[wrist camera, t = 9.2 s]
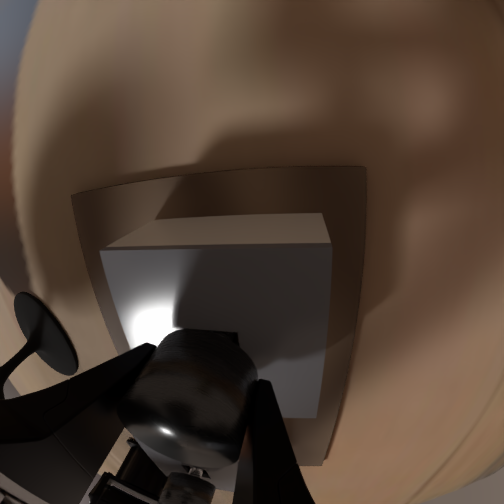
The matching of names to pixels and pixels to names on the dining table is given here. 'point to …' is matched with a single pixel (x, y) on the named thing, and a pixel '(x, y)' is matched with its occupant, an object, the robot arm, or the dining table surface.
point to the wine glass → (40, 339)
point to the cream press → (233, 291)
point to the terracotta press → (216, 476)
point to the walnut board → (248, 203)
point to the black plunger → (192, 398)
